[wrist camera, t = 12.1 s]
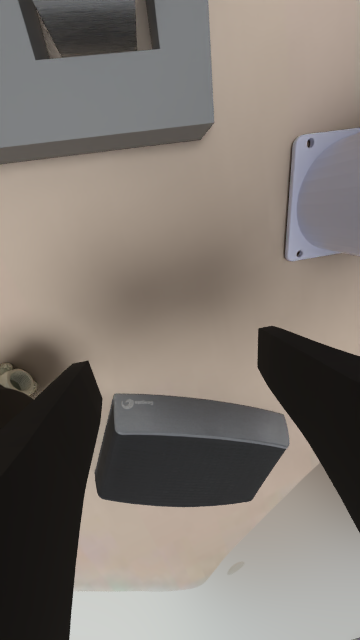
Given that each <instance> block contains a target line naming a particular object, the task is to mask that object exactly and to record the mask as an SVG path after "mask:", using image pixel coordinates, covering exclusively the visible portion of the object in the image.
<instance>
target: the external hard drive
mask: <svg viewBox="0 0 360 640" xmlns="http://www.w3.org/2000/svg"><path fill="white" fill-rule="evenodd" d="M288 446H289V434H288V428H287V424H286V420H285V417H284V415H283V414H279V413H276V412H272V411H268V410H263V409H259V408H254V407H249V406H244V405H238V404H232V403H226V402H219V401H213V400H205V399H196V398H187V397H176V396H163V395H148V394H114V397H113V400H112V404H111V409H110V413H109V416H108V421H107V425H106V429H105V433H104V437H103V442H102V446H101V450H100V454H99V458H98V462H97V466H96V470H95V482H96V488H97V493H98V495H99V497H100V498H102V499H105V500H110V501H116V502H123V503H131V504H141V505H151V506H168V507H200V506H217V505H227V504H236V503H242V502H248V501H251V500H252V499H253V498H254V496H255V495H256V493H257V491H258V490H259V488H260V487H261V485H262V484H263V482H264V481H265V479H266V478H267V476H268V475H269V473H270V472H271V471H272V469H273V467H274V466H275V465H276V463H277V462H278V460H279V459H280V457H281V456H282V454H283V453H284V451H285V450H286V449H287V448H288Z"/></svg>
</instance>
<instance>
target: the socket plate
mask: <svg viewBox="0 0 360 640" xmlns="http://www.w3.org/2000/svg"><path fill="white" fill-rule="evenodd" d="M146 5H147V13H148V21H149V28H150V36H151V44H152V50H143V51H132V52H121V53H110V54H99V55H88V56H77V57H66V58H55V59H49V56H48V53H47V49H46V45H45V41H44V38H43V34H42V30H41V27H40V23H39V19H38V16H37V12H36V8H35V5H34V3H33V1H32V0H0V164H5V163H13V162H21V161H29V160H38V159H46V158H54V157H62V156H70V155H78V154H87V153H95V152H103V151H111V150H119V149H127V148H136V147H144V146H152V145H160V144H168V143H176V142H185V141H193V140H201V139H202V137H203V136H204V135H205V134H206V132H207V131H208V130H209V129H210V127H211V126H212V125H213V124H214V108H213V88H212V68H211V48H210V28H209V8H208V0H146Z"/></svg>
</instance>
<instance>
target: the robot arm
mask: <svg viewBox="0 0 360 640" xmlns="http://www.w3.org/2000/svg"><path fill="white" fill-rule="evenodd" d="M308 140H309V141H310V147H309V148H308V147H307V141H308ZM298 251H300V253H299V255H298V256H297V255H296V254H297V252H298ZM338 253H346V254H351V255H356V256H360V128H352V129H344V130H336V131H328V132H320V133H312V134H304V135H301V136H299V137H297V138H296V139H295V141H294V143H293V148H292V162H291V177H290V191H289V205H288V219H287V233H286V248H285V258H286V259H287V260H288V261H297V260H303V259H309V258H315V257H321V256H327V255H333V254H338ZM258 369H259V371H260V373H261V375H262V376H263V378H264V380H265V382H266V384H267V385H268V387H269V388H270V390H271V391H272V393H273V394H274V395H275V397H276V398H277V400H278V401H279V402H280V404H281V405H282V406H283V408H284V409H285V411H286V412H287V413H288V415H289V416H290V417H291V419H292V420H293V421H294V423H295V424H296V425H297V427H298V428H299V430H300V431H301V432H302V434H303V435H304V437H305V438H306V440H307V441H308V443H309V444H310V446H311V447H312V449H313V451H314V452H315V454H316V456H317V457H318V459H319V461H320V462H321V464H322V466H323V467H324V469H325V471H326V473H327V474H328V476H329V478H330V479H331V481H332V483H333V485H334V487H335V488H336V490H337V492H338V494H339V495H340V497H341V499H342V501H343V503H344V505H345V506H346V508H347V510H348V512H349V514H350V516H351V518H352V519H353V521H354V523H355V525H356V527H357V529H358V531H359V532H360V356H357V355H353V354H350V353H347V352H344V351H341V350H338V349H335V348H332V347H329V346H327V345H324V344H321V343H318V342H316V341H313V340H310V339H308V338H305V337H302V336H300V335H297V334H295V333H292V332H289V331H287V330H284V329H281V328H278V327H274V326H269V327H263V328H258ZM101 409H102V396H101V394H100V391H99V388H98V385H97V383H96V380H95V377H94V375H93V372H92V369H91V367H90V364H89V361H84V362H79V363H74V364H72V365H71V366H70V367H68V368H67V369H66V370H65V371H64V372H63V373H62V374H61V375H60V376H59V377H58V378H57V379H55V380H54V381H53V382H52V383H51V384H50V385H49V386H48V387H47V388H46V389H45V390H44V391H43V392H42V393H41V394H40V395H39V396H38V397H36V398H35V399H34V400H33V401H32V402H31V403H30V404H29V405H28V406H26V407H25V408H24V409H23V410H22V411H21V412H20V413H19V414H17V415H16V416H15V417H14V418H13V419H12V420H11V421H10V422H8V423H7V424H6V425H5V426H4V427H2V428H1V429H0V640H69V634H70V620H71V609H72V608H71V607H72V598H73V587H74V576H75V566H76V557H77V548H78V539H79V531H80V523H81V515H82V508H83V500H84V494H85V489H86V483H87V478H88V474H89V470H90V465H91V461H92V457H93V452H94V448H95V444H96V439H97V435H98V430H99V425H100V419H101ZM353 640H360V638H357V639H353Z"/></svg>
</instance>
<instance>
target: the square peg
mask: <svg viewBox="0 0 360 640" xmlns="http://www.w3.org/2000/svg"><path fill="white" fill-rule="evenodd" d="M32 1H33V3H34V5H35V6H36V8H37V10H38V12H39V14H40V16H41V18H42V20H43V22H44V24H45V26H46V28H47V29H48V31H49V33H50V35H51V37H52V39H53V41H54V43H55V45H56V47H57V49H58V51H59V53H60V54H61V56H62V58H66V57H77V56H88V55H99V54H110V53H121V52H132V51H137V41H136V15H135V0H32Z"/></svg>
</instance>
